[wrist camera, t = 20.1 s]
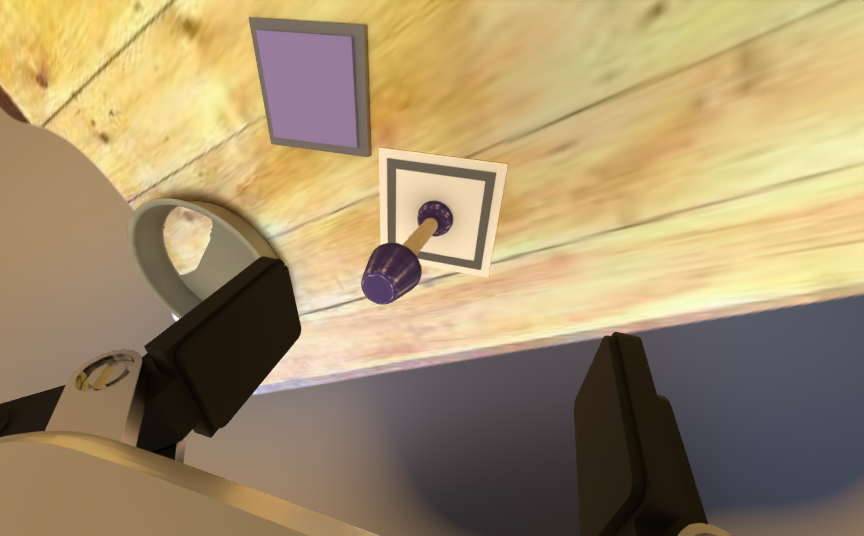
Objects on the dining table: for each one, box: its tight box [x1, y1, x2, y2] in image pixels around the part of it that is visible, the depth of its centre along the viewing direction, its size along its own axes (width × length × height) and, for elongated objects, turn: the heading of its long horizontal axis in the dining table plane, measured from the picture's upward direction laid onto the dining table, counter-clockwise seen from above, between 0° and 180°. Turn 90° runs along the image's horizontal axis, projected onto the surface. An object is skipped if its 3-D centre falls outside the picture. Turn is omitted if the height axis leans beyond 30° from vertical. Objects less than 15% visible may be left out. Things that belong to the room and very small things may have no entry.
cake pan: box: [127, 198, 278, 319], centre depth 53 cm, size 25×25×4 cm
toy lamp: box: [361, 201, 453, 304], centre depth 34 cm, size 5×5×17 cm
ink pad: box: [249, 17, 371, 157], centre depth 37 cm, size 12×12×1 cm
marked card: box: [379, 147, 508, 278], centre depth 41 cm, size 14×14×1 cm
